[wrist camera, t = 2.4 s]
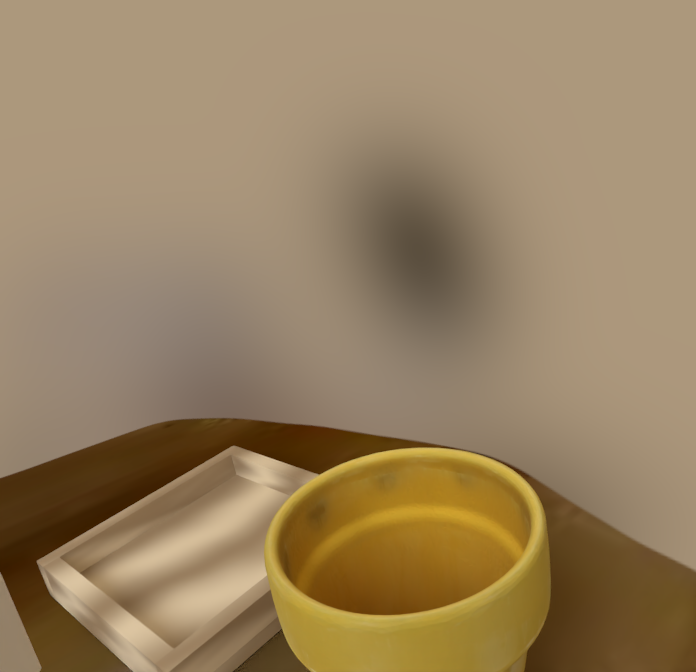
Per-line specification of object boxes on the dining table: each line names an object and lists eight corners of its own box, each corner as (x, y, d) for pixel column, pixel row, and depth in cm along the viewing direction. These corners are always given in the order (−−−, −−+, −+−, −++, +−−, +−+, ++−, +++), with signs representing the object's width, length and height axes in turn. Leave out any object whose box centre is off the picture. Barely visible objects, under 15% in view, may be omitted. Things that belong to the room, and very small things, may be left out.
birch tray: (50, 594, 39) (36, 561, 38) (241, 474, 49) (233, 445, 48) (181, 716, 29) (166, 673, 28) (391, 532, 39) (384, 497, 38)
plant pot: (606, 671, 27) (589, 469, 24) (498, 919, 19) (454, 672, 16) (402, 595, 33) (368, 429, 30) (263, 759, 26) (201, 561, 23)
